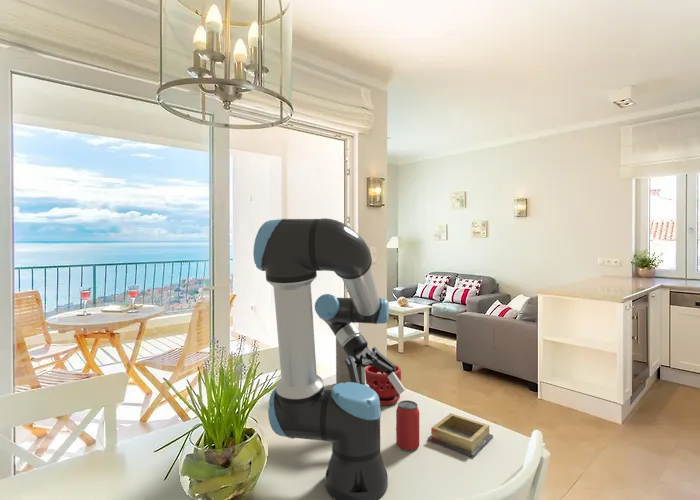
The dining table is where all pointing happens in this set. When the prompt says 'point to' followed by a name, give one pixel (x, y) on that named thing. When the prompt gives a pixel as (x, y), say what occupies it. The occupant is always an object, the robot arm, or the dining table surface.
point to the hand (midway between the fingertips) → (390, 399)
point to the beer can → (407, 425)
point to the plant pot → (382, 384)
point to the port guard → (460, 434)
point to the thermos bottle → (341, 364)
